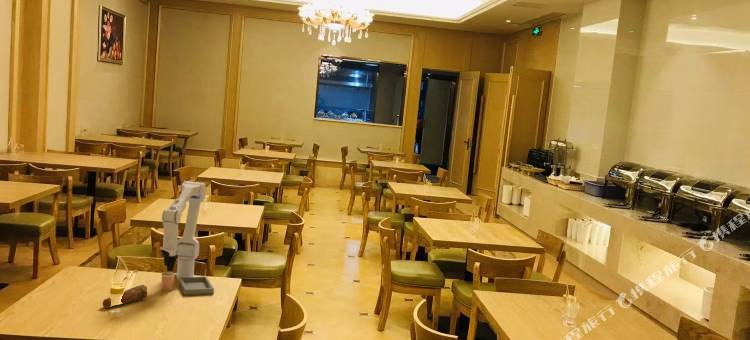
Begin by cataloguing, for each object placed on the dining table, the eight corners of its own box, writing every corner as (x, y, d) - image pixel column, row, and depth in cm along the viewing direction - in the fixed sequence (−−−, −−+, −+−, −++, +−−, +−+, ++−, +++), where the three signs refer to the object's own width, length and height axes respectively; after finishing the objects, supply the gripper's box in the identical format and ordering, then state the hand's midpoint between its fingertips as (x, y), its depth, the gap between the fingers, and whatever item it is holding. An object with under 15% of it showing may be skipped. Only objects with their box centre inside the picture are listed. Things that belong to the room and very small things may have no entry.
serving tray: (178, 282, 283) (179, 277, 282) (206, 281, 288) (206, 276, 287) (184, 295, 266) (185, 289, 266) (213, 294, 271) (214, 288, 271)
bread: (148, 299, 258) (149, 286, 258) (108, 311, 242) (109, 296, 241) (137, 295, 261) (138, 282, 261) (97, 307, 245) (98, 293, 244)
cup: (159, 288, 273) (160, 272, 272) (172, 287, 275) (173, 271, 275) (161, 291, 268) (162, 275, 268) (174, 291, 271) (175, 275, 270)
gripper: (158, 233, 274) (156, 264, 275) (162, 241, 261) (161, 273, 263) (175, 233, 277) (173, 263, 279) (180, 241, 264) (178, 272, 266)
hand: (168, 268), depth 271 cm, fingers open, 7 cm apart
